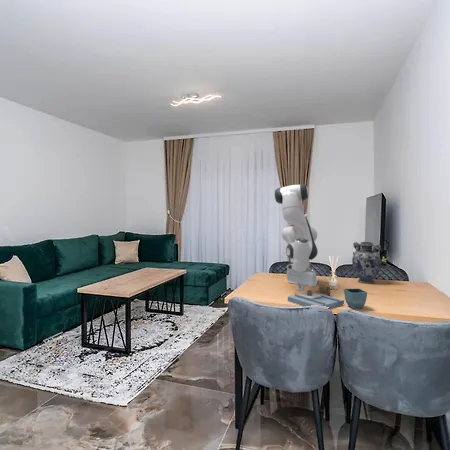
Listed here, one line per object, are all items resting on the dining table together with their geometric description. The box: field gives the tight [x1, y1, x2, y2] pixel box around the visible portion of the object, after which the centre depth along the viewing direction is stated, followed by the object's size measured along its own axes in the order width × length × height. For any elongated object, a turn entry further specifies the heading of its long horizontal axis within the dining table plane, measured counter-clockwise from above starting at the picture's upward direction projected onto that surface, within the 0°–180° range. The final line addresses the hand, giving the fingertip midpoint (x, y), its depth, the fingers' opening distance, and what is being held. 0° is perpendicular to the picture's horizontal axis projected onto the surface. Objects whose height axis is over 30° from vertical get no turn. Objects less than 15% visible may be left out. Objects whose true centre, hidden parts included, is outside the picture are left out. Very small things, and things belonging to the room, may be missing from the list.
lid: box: [297, 289, 322, 299], centre depth 182 cm, size 9×9×3 cm
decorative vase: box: [351, 241, 382, 285], centre depth 229 cm, size 21×19×28 cm
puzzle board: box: [287, 291, 345, 309], centre depth 179 cm, size 20×22×3 cm
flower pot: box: [343, 288, 368, 309], centre depth 171 cm, size 9×9×9 cm
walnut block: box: [318, 284, 331, 297], centre depth 192 cm, size 4×4×6 cm
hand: (301, 291), depth 187 cm, fingers closed
